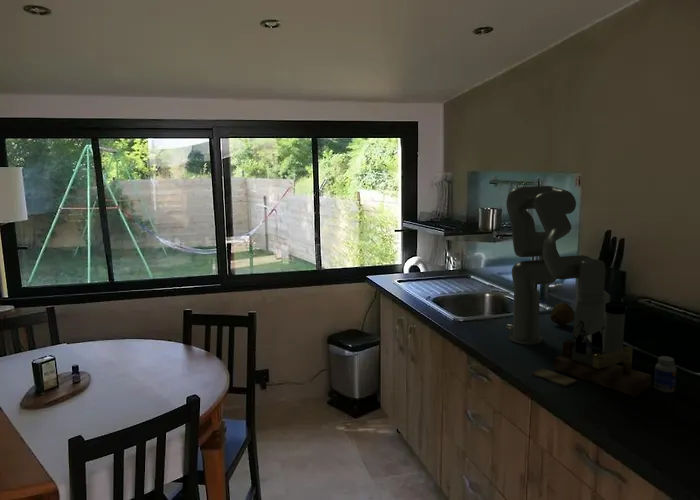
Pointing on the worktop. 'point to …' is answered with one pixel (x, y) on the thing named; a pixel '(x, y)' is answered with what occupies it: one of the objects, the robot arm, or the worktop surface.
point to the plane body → (603, 373)
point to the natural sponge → (562, 314)
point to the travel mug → (614, 326)
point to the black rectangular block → (586, 357)
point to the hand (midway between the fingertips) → (588, 349)
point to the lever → (615, 359)
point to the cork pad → (554, 377)
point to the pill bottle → (665, 374)
